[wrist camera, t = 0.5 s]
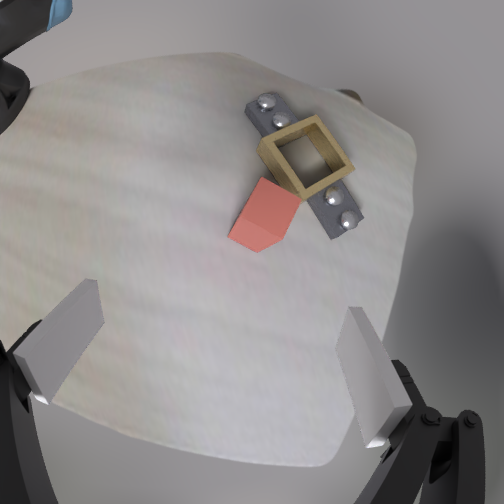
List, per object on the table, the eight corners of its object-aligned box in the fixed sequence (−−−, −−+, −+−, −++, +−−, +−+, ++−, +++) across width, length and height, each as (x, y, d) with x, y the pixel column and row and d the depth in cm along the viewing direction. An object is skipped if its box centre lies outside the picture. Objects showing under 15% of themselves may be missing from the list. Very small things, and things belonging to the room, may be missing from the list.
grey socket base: (231, 116, 36) (234, 102, 32) (283, 95, 37) (289, 81, 34) (320, 248, 36) (332, 245, 32) (366, 215, 38) (380, 209, 34)
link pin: (227, 236, 34) (239, 216, 23) (242, 208, 35) (261, 176, 24) (257, 252, 34) (282, 239, 24) (271, 224, 35) (301, 199, 24)
